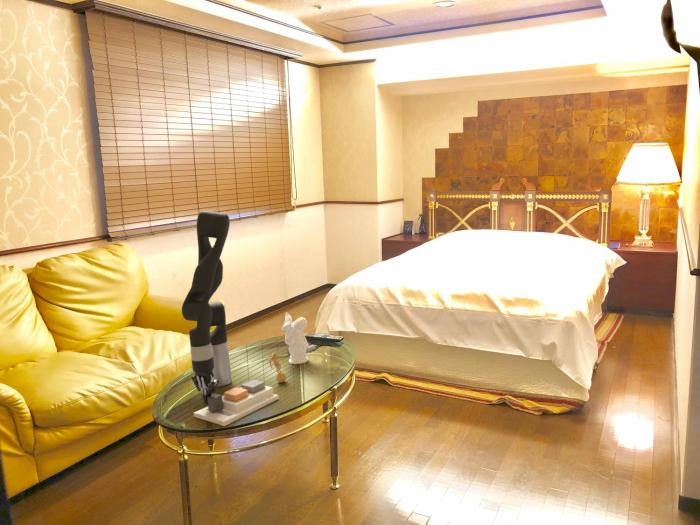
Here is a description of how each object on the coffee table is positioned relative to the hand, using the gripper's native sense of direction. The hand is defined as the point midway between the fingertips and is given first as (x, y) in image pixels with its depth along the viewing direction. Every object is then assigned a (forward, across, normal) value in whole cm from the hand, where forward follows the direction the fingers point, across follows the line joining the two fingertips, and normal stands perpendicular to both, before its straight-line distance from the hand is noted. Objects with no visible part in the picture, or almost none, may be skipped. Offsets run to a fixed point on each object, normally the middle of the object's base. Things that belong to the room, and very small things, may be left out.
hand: (207, 403), depth 204 cm
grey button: (+1, -6, -17) cm, 18 cm away
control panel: (+4, -6, -8) cm, 11 cm away
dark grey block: (+2, -4, 0) cm, 4 cm away
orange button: (+1, -6, -8) cm, 10 cm away
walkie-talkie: (+4, +18, -72) cm, 74 cm away
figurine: (+4, -2, -34) cm, 34 cm away
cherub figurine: (+4, +10, -55) cm, 56 cm away
